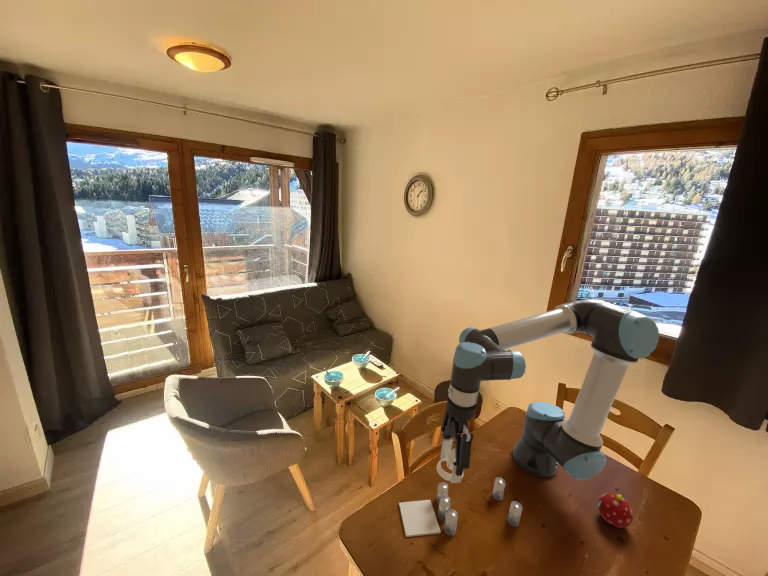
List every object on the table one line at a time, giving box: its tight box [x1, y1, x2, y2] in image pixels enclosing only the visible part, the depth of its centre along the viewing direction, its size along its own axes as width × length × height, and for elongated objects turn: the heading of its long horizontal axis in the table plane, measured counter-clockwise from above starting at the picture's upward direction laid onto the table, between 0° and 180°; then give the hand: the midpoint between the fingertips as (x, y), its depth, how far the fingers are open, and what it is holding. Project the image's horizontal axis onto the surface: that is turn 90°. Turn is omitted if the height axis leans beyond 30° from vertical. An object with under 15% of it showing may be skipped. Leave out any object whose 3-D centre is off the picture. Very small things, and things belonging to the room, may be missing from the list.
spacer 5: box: [506, 500, 523, 528], centre depth 94 cm, size 3×3×6 cm
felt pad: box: [398, 499, 441, 538], centre depth 94 cm, size 10×10×1 cm
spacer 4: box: [491, 476, 507, 502], centre depth 102 cm, size 3×3×6 cm
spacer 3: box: [444, 508, 459, 537], centre depth 90 cm, size 3×3×6 cm
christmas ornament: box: [597, 492, 634, 529], centre depth 95 cm, size 9×9×10 cm
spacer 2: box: [437, 495, 452, 522], centre depth 94 cm, size 3×3×6 cm
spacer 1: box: [435, 481, 449, 506], centre depth 99 cm, size 3×3×6 cm
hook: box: [436, 448, 464, 482], centre depth 89 cm, size 8×12×7 cm
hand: (450, 469), depth 90 cm, fingers closed on hook, 8 cm apart
